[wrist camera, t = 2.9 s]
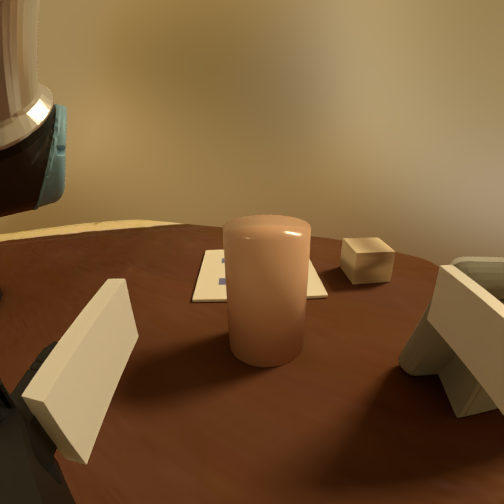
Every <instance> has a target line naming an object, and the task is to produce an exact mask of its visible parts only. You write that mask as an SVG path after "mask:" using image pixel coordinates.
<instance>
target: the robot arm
mask: <svg viewBox="0 0 504 504" xmlns="http://www.w3.org/2000/svg"><path fill="white" fill-rule="evenodd" d="M38 14H39V0H0V217H3V216H7V215H12V214H16V213H20V212H24V211H29V210H36V209H38V208H39V207H41V206H44V205H48V204H51V203H54V202H56V201H58V200H59V199H60V198H61V197H62V195H63V193H64V188H65V148H66V146H65V145H66V122H67V111H66V107H65V106H63V105H58V104H55V105H54V104H53V96H52V93H51V91H50V90H49V89H48V88H47V87H45V86H44V85H41V84H39V83H38V60H37V58H38V57H37V40H38V38H37V37H38ZM1 297H2V292H1V289H0V300H1ZM427 320H428V321H429V322H430V323H431V325H432V326H433V327H434V328H435V329H436V330H437V331H438V333H439V334H440V335H441V336H442V337H443V338H444V340H445V341H446V342H447V343H448V344H449V346H450V347H451V348H452V349H453V350H454V352H455V353H456V354H457V355H458V356H459V358H460V359H461V360H462V361H463V363H464V364H465V365H466V366H467V368H468V369H469V370H470V371H471V373H472V374H473V375H474V376H475V378H476V379H477V380H478V382H479V383H480V384H481V385H482V387H483V388H484V389H485V391H486V392H487V393H488V395H489V396H490V397H491V399H492V400H493V401H494V403H495V404H496V406H497V407H498V408H499V410H500V411H501V412H502V414H503V415H504V304H502V303H501V302H500V301H499V300H497V299H496V298H495V297H494V296H493V295H491V294H490V293H489V292H488V291H486V290H485V289H484V288H482V287H481V286H480V285H479V284H477V283H476V282H475V281H473V280H472V279H471V278H469V277H468V276H467V275H465V274H464V273H463V272H461V271H460V270H459V269H457V268H456V267H455V266H453V265H443V266H440V267H439V272H438V277H437V281H436V286H435V290H434V294H433V298H432V302H431V306H430V310H429V314H428V317H427ZM137 339H138V333H137V329H136V325H135V321H134V317H133V312H132V308H131V304H130V299H129V294H128V290H127V285H126V280H125V279H108V280H107V281H106V282H105V283H104V285H103V286H102V287H101V288H100V289H99V291H98V292H97V293H96V294H95V296H94V297H93V298H92V299H91V301H90V302H89V303H88V304H87V306H86V307H85V308H84V309H83V311H82V312H81V313H80V314H79V316H78V317H77V318H76V320H75V321H74V322H73V323H72V325H71V326H70V327H69V329H68V330H67V331H66V333H65V334H64V335H63V337H62V338H61V339H60V341H59V342H53V343H51V344H50V345H49V346H47V347H46V348H44V349H43V350H42V351H41V353H40V354H39V355H38V357H37V358H36V359H35V362H33V364H32V365H31V366H30V370H27V372H26V373H25V375H24V376H23V377H22V379H21V380H20V382H19V383H18V385H17V386H16V388H15V389H14V391H13V392H12V393H11V395H9V393H8V391H7V390H6V388H5V386H4V384H3V383H2V381H1V379H0V504H76V503H75V501H74V499H73V497H72V495H71V493H70V490H69V488H68V486H67V484H66V481H65V479H64V477H63V474H62V472H61V469H60V467H59V464H58V462H57V460H56V459H55V457H54V454H55V451H56V449H58V450H59V451H60V452H61V454H62V455H63V456H64V457H65V459H68V460H72V461H76V462H79V463H83V464H87V462H88V460H89V457H90V454H91V451H92V448H93V446H94V443H95V440H96V438H97V435H98V432H99V430H100V427H101V424H102V422H103V419H104V417H105V414H106V412H107V409H108V407H109V404H110V402H111V399H112V397H113V394H114V392H115V389H116V387H117V385H118V382H119V380H120V377H121V375H122V373H123V370H124V368H125V366H126V363H127V361H128V359H129V357H130V354H131V352H132V350H133V348H134V345H135V343H136V341H137Z"/></svg>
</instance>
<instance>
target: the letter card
mask: <svg viewBox="0 0 504 504" xmlns="http://www.w3.org/2000/svg"><path fill="white" fill-rule="evenodd" d="M327 297H328V294H327V292H326V290H325V288H324V286H323V284H322V282H321V280H320V278H319V276H318V275H317V273H316V271H315V269H314V267H313V265H312V263H311V261H310V259H309V269H308V284H307V298H306V299H309V298H327ZM192 301H193V302H227V296H226V279H225V261H224V250H206V252H205V255H204V259H203V263H202V266H201V270H200V273H199V277H198V281H197V284H196V288H195V292H194V295H193V299H192Z"/></svg>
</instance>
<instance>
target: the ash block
mask: <svg viewBox="0 0 504 504" xmlns="http://www.w3.org/2000/svg"><path fill="white" fill-rule="evenodd" d="M394 256H395V251H394V250H393V249H391V248H390V247H389V246H388V245H387V244H385V243H384V242H383V241H381V240H380V239H379V238H343V241H342V252H341V262H340V267H341V269H342V270H343V272H344V273H345V274H346V276H347V277H348V278H349V280H350V281H351V283H352V284H366V283H380V282H390V280H391V274H392V269H393V263H394Z"/></svg>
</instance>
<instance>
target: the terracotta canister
mask: <svg viewBox="0 0 504 504" xmlns="http://www.w3.org/2000/svg"><path fill="white" fill-rule="evenodd" d="M310 233H311V226H310V225H309V224H308V223H307V222H305V221H303V220H300V219H297V218H293V217H288V216H280V215H252V216H245V217H240V218H236V219H233V220H231V221H228V222H226V223H225V224H224V225H223V242H224V261H225V279H226V296H227V312H228V327H229V342H230V349H231V352H232V353H233V355H234V356H235V357H236V358H237V359H239V360H240V361H242V362H244V363H246V364H249V365H252V366H257V367H275V366H280V365H284V364H286V363H288V362H290V361H292V360H293V359H295V358H296V357H297V356H298V355H299V353H300V352H301V350H302V344H303V333H304V322H305V311H306V298H307V284H308V269H309V253H310Z"/></svg>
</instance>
